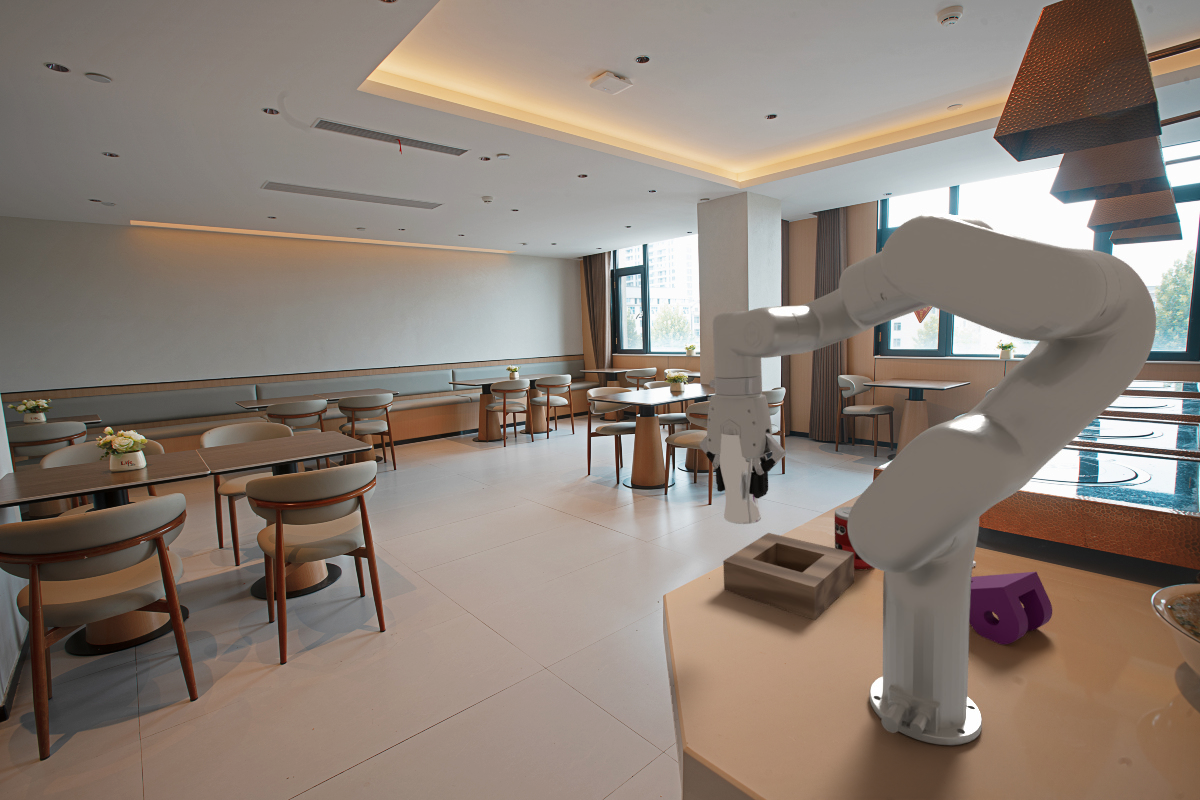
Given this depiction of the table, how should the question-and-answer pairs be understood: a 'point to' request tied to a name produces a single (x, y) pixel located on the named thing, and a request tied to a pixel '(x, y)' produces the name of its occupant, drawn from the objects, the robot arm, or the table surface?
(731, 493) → the silver metal cup
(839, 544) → the canned food
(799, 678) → the table surface
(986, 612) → the mounting bracket
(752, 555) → the walnut well
